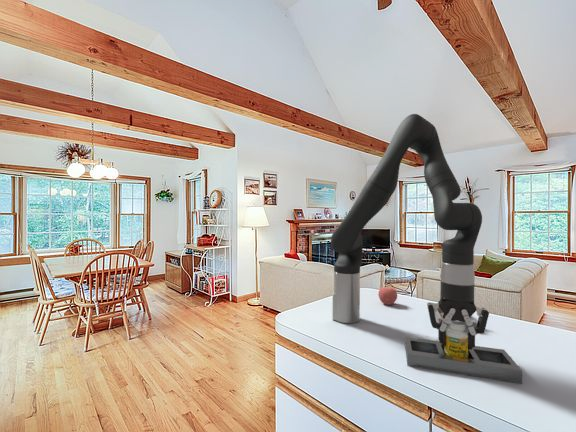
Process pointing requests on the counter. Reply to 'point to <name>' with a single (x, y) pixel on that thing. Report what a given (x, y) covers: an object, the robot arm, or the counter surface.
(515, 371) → the three-compartment grey tray
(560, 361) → the counter surface
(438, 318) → the clamp tray
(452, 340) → the supplement bottle
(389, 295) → the apple
